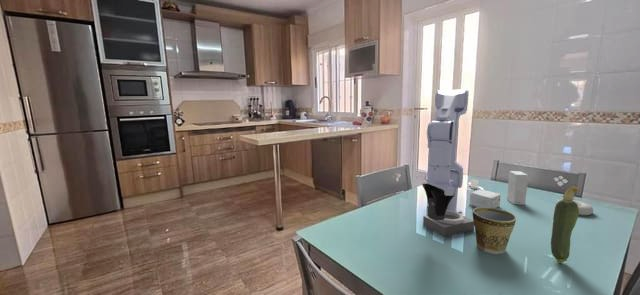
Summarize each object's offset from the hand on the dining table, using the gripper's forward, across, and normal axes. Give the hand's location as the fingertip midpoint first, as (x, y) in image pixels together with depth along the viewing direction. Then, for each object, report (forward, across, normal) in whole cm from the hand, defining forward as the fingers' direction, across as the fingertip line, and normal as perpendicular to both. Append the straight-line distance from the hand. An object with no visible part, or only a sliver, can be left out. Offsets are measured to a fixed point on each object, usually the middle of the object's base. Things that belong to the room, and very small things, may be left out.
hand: (436, 211), depth 77 cm
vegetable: (+10, -10, -27) cm, 31 cm away
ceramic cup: (+10, -2, -15) cm, 18 cm away
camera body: (+9, +10, -8) cm, 16 cm away
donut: (+10, +22, -59) cm, 64 cm away
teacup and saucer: (+10, +50, -41) cm, 66 cm away
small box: (+10, +28, -30) cm, 42 cm away
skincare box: (+10, +31, -45) cm, 55 cm away
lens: (+2, 0, 0) cm, 2 cm away
